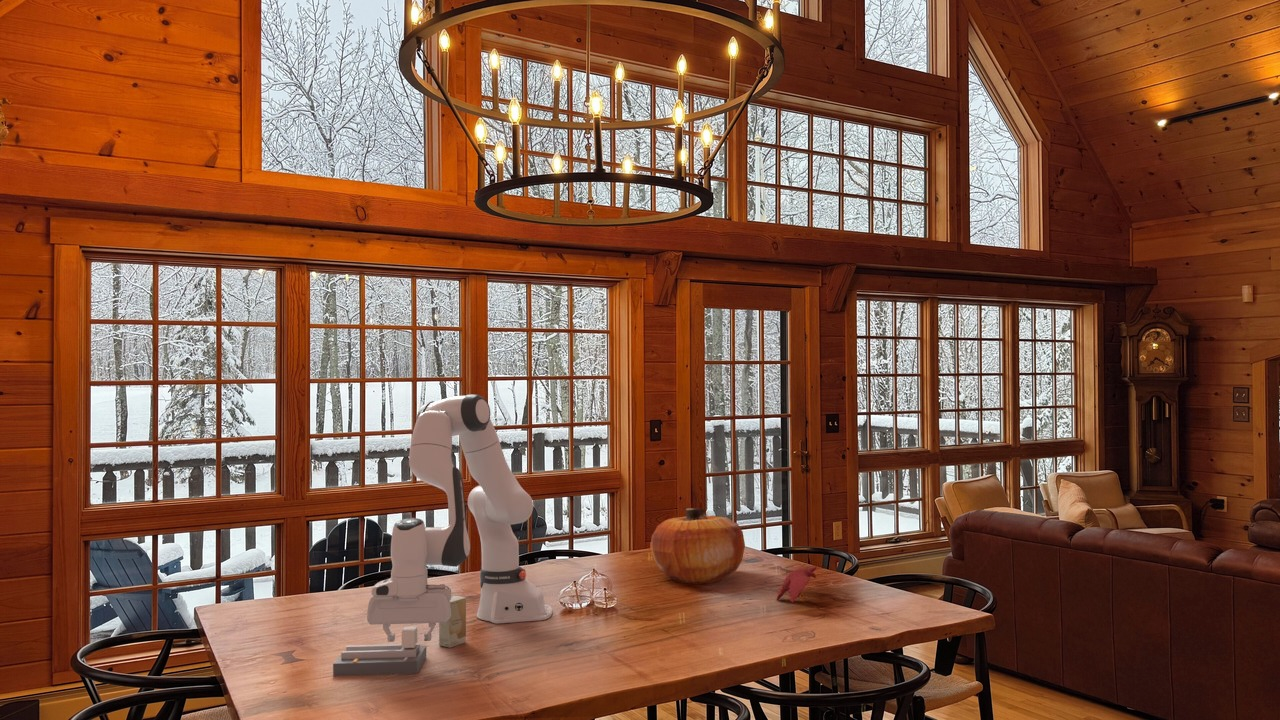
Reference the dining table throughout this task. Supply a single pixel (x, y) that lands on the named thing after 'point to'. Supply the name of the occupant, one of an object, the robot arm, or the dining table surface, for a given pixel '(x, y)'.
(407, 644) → the fader knob
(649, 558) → the dining table surface
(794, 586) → the decorative bird sculpture
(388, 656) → the fader console
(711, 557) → the pumpkin
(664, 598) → the dining table surface
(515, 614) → the robot arm
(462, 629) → the skincare box
